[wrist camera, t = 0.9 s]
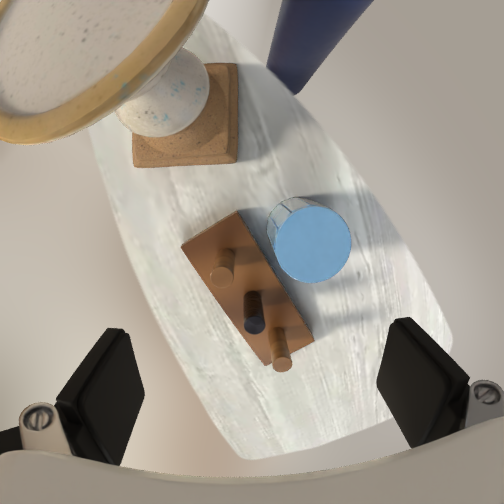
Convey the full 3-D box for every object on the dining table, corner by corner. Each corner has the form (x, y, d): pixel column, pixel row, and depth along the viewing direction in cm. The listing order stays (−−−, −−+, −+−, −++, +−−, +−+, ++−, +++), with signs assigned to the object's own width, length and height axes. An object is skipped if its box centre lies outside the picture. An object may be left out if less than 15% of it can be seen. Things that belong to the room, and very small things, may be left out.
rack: (182, 243, 32) (166, 264, 24) (237, 210, 31) (235, 221, 24) (264, 359, 36) (268, 398, 29) (312, 334, 35) (326, 370, 28)
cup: (294, 185, 30) (311, 189, 23) (337, 224, 32) (365, 240, 24) (254, 232, 32) (258, 251, 24) (299, 268, 33) (316, 297, 25)
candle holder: (140, 76, 26) (4, -31, 3) (238, 67, 27) (233, -106, 4) (138, 168, 29) (-46, 181, 6) (237, 163, 29) (223, 131, 6)
